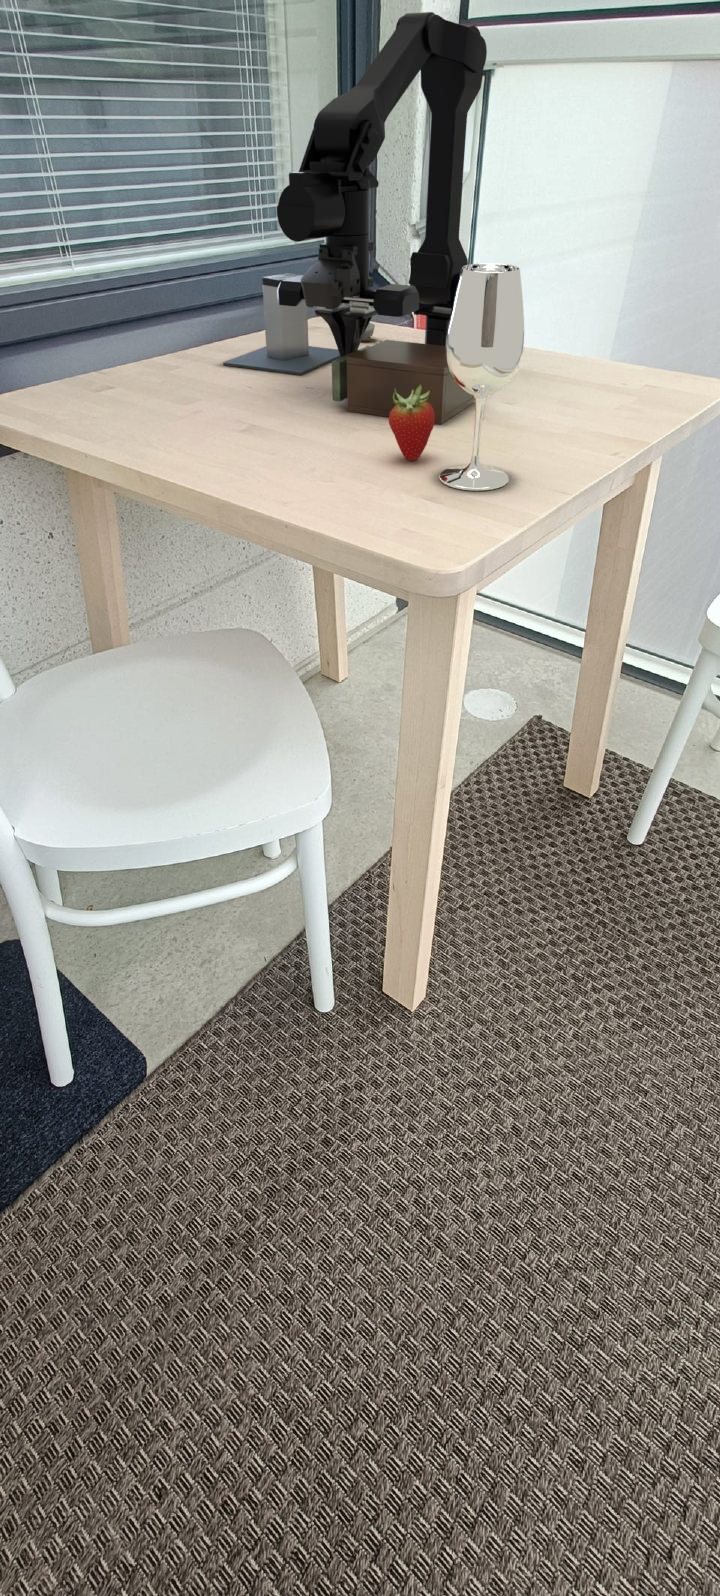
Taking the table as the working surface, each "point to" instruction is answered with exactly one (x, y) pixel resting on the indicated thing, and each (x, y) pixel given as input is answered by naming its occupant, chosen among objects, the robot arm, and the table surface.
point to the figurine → (368, 332)
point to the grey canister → (284, 322)
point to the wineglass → (484, 353)
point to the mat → (285, 361)
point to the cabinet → (403, 379)
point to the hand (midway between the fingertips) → (347, 366)
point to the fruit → (412, 423)
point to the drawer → (340, 377)
